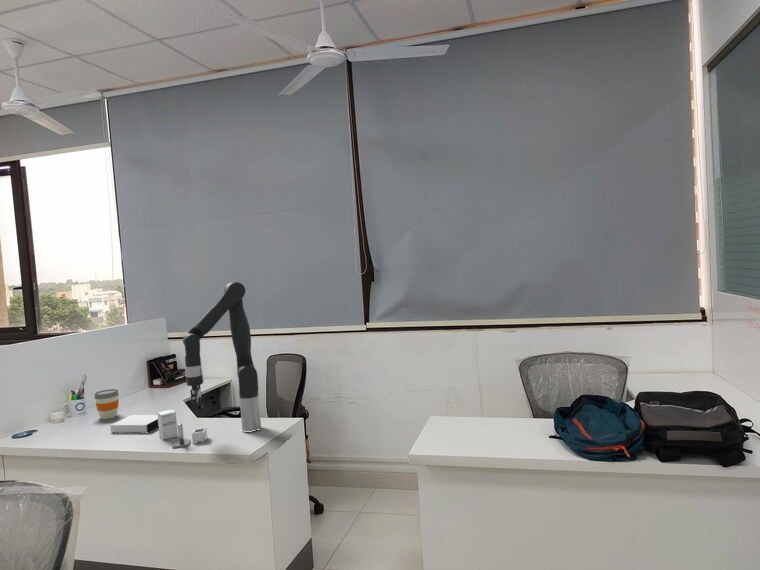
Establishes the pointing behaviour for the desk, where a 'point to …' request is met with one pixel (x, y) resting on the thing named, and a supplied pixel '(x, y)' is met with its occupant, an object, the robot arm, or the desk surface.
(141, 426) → the disc drive
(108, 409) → the reusable coffee cup
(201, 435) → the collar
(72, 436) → the desk surface
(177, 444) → the grey peg stand
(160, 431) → the supplement box
